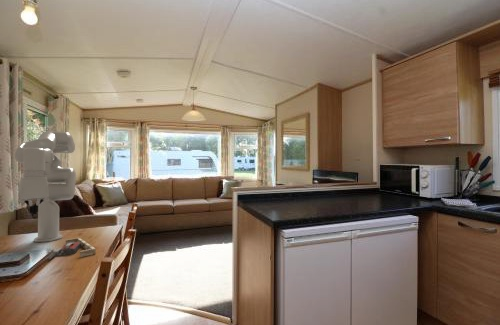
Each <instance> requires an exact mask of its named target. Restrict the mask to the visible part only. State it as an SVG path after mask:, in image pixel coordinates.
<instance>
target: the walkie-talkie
mask: <svg viewBox="0 0 500 325" xmlns="http://www.w3.org/2000/svg"><path fill="white" fill-rule="evenodd" d="M81 248H82V246H81V242H70V243H68V244H66V245H64V246H62V247H59V248H56V249H55V250H53V252H52V254H51V255H50V256H49V257H48V258H47V261H50V260H51V259H53V258H54V257H55V256H69V255H75V254H76V253H77V252H78V251H79V250H80V249H81Z"/></svg>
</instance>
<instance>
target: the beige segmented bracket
mask: <svg viewBox="0 0 500 325" xmlns="http://www.w3.org/2000/svg"><path fill="white" fill-rule="evenodd" d="M70 242H81V248H83V250H80V251H79V257H80V258H84V257H87V256H92V255H95V254H96V253H97V252H96V250H97V249H96V247H94V246H93V245H92V244H89V243H88V242H87V241H85V240H84V239H82V238H81V237H75V238H69V239H65V243H64V244H65V245H66V244H68V243H70ZM65 245H64V246H65Z"/></svg>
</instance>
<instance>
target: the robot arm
mask: <svg viewBox="0 0 500 325" xmlns="http://www.w3.org/2000/svg"><path fill="white" fill-rule="evenodd" d="M75 150H76V143H75V140H74V138H73V136H72V134H70V133H69V132H66V131H56V130H55V131H54V130H47V131H44V132H42V133H41V134H40V135H39V137H38V138H36V139H33V140H28V141H25V142H22V143H21V144H19V146H18V147H17V148H16V150H15V152H14V159H15V160H16V162H18V163H19V164H23V168H22V169H23V171H22V172H23V173H22V174H23V175H22V177H20V179H19V184H18V200H17V202H18V203H22V204H26V205H28V206H29V209H28V210H29V211H28V212H29V213H30V214H31V216H33V215H37V237H35V238H34V239H33V241H34V242H35V243H45V242H52V241H57V240H60V239H62V238H63V234H61V233H60V206H59V205H58V203H57V202H56V201H68V200H72V199H73V198H74V197H75V192H76V191H75V190H76V182H77V180H76V179H77V175H76V170H75V169H74V168H72V167H62V166H63V161H62V159H61V158H60V156H57V155H56V154H73V153H74V151H75ZM33 200H35V203H33Z"/></svg>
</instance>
